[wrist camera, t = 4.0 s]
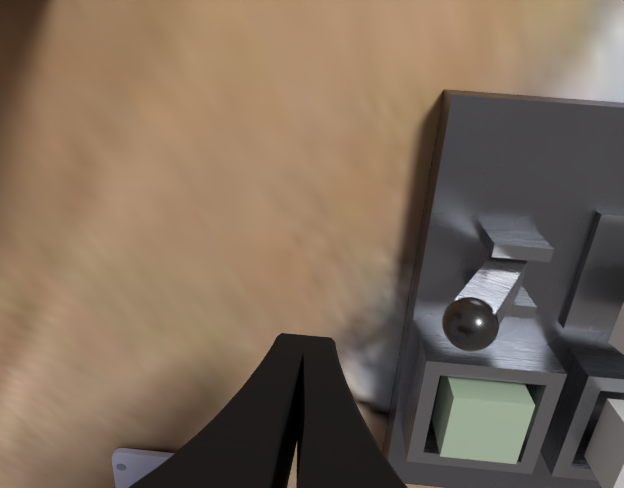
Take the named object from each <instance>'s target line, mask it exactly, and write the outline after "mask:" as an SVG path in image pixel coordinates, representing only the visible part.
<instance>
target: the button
mask: <svg viewBox="0 0 624 488" xmlns="http://www.w3.org/2000/svg"><path fill="white" fill-rule="evenodd" d="M534 408H535V404H534V402H533V400H532V398H531V396H530V394H529V392H528V390H527V388H526V386H525V384H524V383H516V382H505V381H495V380H484V379H474V378H463V377H453V376H441V380H440V385H439V389H438V394H437V399H436V403H435V408H434V412H433V417H432V422H433V427H434V431H435V436H436V440H437V445H438V450H439V454H440V457H450V458H460V459H470V460H480V461H490V462H500V463H509V464H516V463H517V460H518V457H519V454H520V451H521V448H522V445H523V442H524V439H525V436H526V433H527V429H528V426H529V423H530V420H531V417H532V414H533V411H534Z"/></svg>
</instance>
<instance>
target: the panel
mask: <svg viewBox="0 0 624 488" xmlns="http://www.w3.org/2000/svg"><path fill="white" fill-rule="evenodd" d="M490 256H491V257H495V258H507V259H519V260H526V261H528V263H527V267H526V270H525V274H524V277H523V281H522V285H521V288H520V291H519V293H518V295H517V296H516V298H515V300H514V301H513V303H512V305H511V307H510V308H509V310H508V312H507V313H506V315H505V317H504V319H503V320H502V322H501V324H500V325H499V330H498V334H497V337H496V339H495V340H494V341H493V343H492V344H491V345H490V346H488V347H487V348H485V349H483V350H480V351H475V352H469V351H464V350H461V349H459V348H457V347H455V346H454V345H453V344H451V343H450V341H449V340H448V339H447V337H446V336H445V334H444V331H443V326H442V320H443V315H444V313H445V311H446V309H447V307H448V306H449V305H450V304H451V303H453V302H454V300H455V298H456V297H457V296H458V295H459V294H460V292H461V291H462V290H463V289H464V288H465V286H466V285H467V284H468V283H469V281H470V280H471V279H472V278H473V277H474V275H475V274H476V273H477V272H478V271H479V269H480V268H481V267H482V266H483V264H484V263H485V262H486V261H487V260H488V258H489V257H490ZM623 303H624V103H618V102H604V101H591V100H578V99H564V98H551V97H538V96H524V95H511V94H497V93H484V92H471V91H457V90H444V93H443V99H442V105H441V111H440V117H439V123H438V128H437V134H436V140H435V146H434V152H433V158H432V164H431V170H430V176H429V181H428V187H427V193H426V199H425V205H424V211H423V217H422V223H421V229H420V234H419V240H418V246H417V252H416V258H415V264H414V270H413V276H412V282H411V288H410V293H409V299H408V305H407V311H406V317H405V323H404V329H403V335H402V341H401V346H400V352H399V358H398V364H397V370H396V376H395V382H394V388H393V394H392V399H391V405H390V411H389V417H388V423H387V429H386V435H385V441H384V447H383V454H384V455H385V457H386V458H387V460H388V461H389V463H390V464H391V466H392V467H393V468H394V470H395V471H396V473H397V474H398V476H399V477H400V479H401V480H402V481H403V482H404V483H405V484H415V485H425V486H434V487H444V488H602V487H601V485H600V484H599V482H598V480H597V478H596V476H595V475H594V473H593V471H592V469H591V467H590V466H589V464H588V462H587V460H586V458H585V457H584V454H585V452H586V449H587V447H588V444H589V442H590V440H591V437H592V435H593V432H594V430H595V427H596V425H597V422H598V420H599V417H600V415H601V412H602V410H603V407H604V405H605V402H606V400H607V399H618V400H624V355H623V354H622V353H621V352H620V351H618V350H617V349H616V348H615V347H613V346H612V345H611V344H610V343H608V342H609V339H610V337H611V334H612V331H613V329H614V326H615V323H616V321H617V318H618V316H619V313H620V310H621V308H622V305H623ZM441 376H453V377H463V378H474V379H484V380H495V381H505V382H516V383H524V384H525V386H526V388H527V390H528V392H529V394H530V396H531V398H532V400H533V402H534V404H535V408H534V411H533V414H532V417H531V420H530V423H529V426H528V429H527V433H526V436H525V439H524V442H523V445H522V448H521V451H520V454H519V457H518V460H517V463H516V464H509V463H500V462H490V461H480V460H470V459H460V458H450V457H440V454H439V450H438V445H437V440H436V436H435V431H434V427H433V422H432V417H433V412H434V408H435V403H436V399H437V394H438V389H439V385H440V380H441Z"/></svg>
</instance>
